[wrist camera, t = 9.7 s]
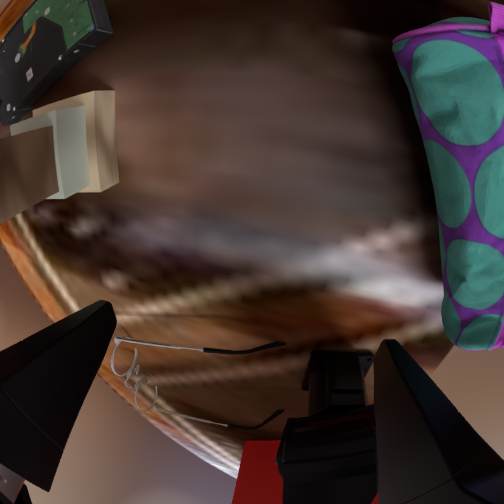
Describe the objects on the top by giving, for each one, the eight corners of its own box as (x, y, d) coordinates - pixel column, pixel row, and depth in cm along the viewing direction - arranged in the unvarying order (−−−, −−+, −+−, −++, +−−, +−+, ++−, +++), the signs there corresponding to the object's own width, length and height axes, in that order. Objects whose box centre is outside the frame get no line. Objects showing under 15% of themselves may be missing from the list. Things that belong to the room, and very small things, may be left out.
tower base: (122, 180, 20) (100, 192, 18) (62, 182, 21) (41, 193, 19) (118, 90, 17) (94, 90, 14) (55, 106, 18) (32, 110, 15)
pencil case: (500, 268, 18) (551, 335, 10) (426, 299, 21) (464, 384, 13) (461, 33, 10) (544, 12, 2) (362, 45, 13) (419, -5, 5)
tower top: (90, 185, 18) (64, 198, 15) (43, 186, 18) (19, 198, 16) (85, 105, 15) (56, 109, 12) (36, 119, 15) (10, 125, 13)
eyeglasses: (115, 314, 28) (93, 344, 24) (286, 329, 25) (282, 371, 21) (156, 395, 36) (145, 421, 31) (284, 412, 33) (281, 444, 28)
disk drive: (22, 123, 19) (119, 32, 14) (2, 129, 16) (97, 27, 12) (7, 55, 15) (96, -36, 10) (-11, 57, 12) (78, -44, 8)
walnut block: (59, 191, 15) (-8, 229, 10) (24, 192, 15) (-34, 225, 10) (53, 125, 13) (-22, 147, 7) (17, 134, 13) (-46, 157, 8)
